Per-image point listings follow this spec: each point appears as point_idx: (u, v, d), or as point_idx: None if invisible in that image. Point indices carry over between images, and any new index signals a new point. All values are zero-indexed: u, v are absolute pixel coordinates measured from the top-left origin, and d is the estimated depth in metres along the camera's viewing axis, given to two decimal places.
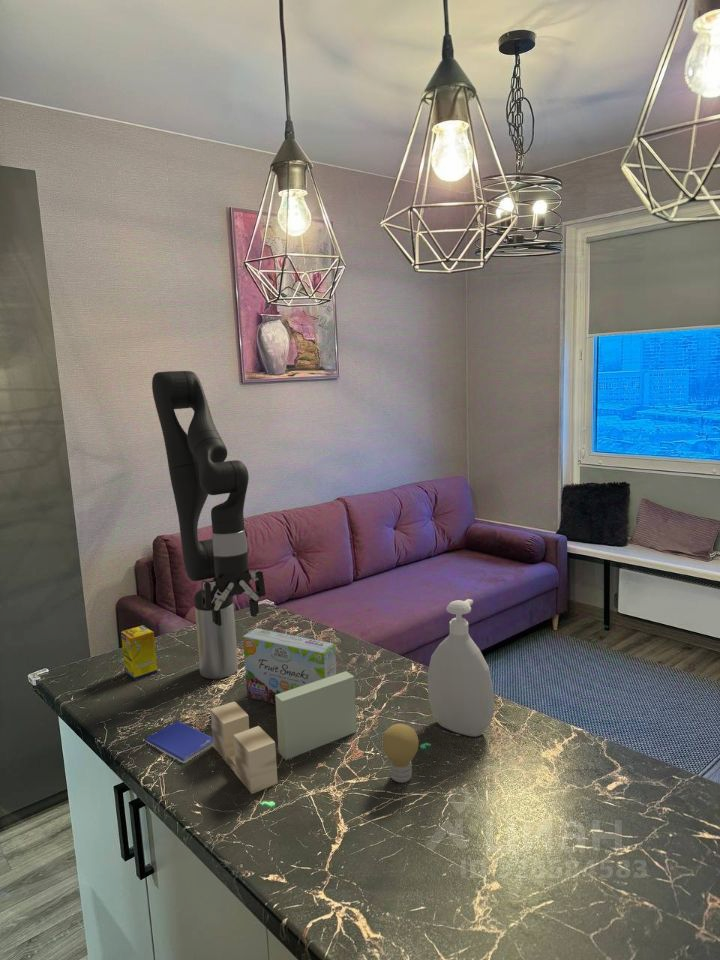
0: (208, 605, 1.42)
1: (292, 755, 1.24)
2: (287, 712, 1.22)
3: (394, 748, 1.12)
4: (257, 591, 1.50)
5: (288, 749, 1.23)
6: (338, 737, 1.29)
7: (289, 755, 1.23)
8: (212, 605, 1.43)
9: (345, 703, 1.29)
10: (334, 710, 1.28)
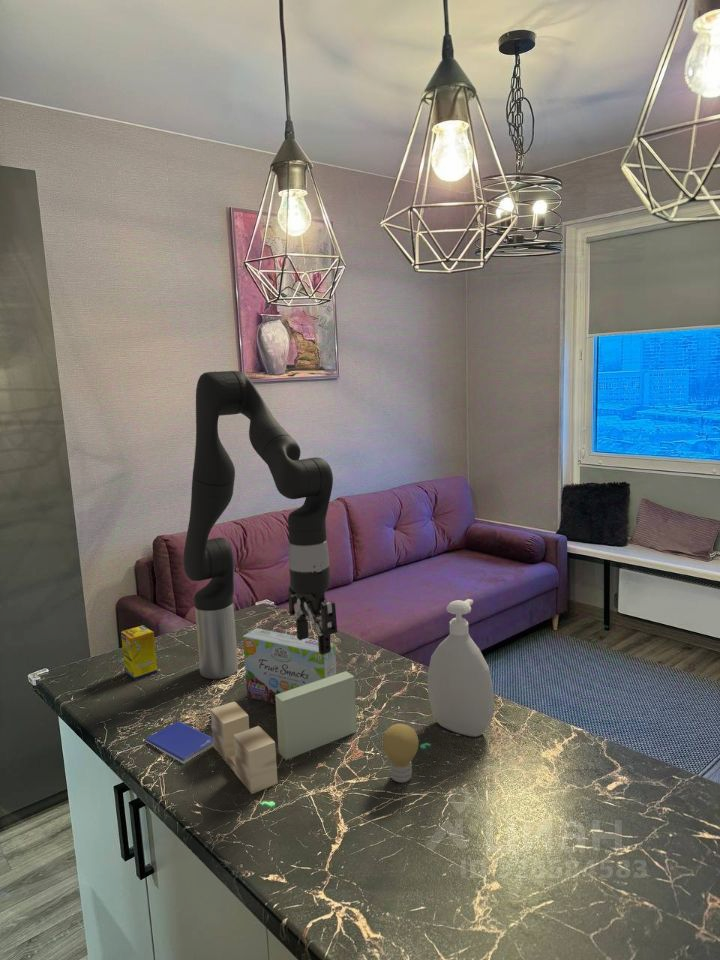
0: None
1: (292, 755, 1.24)
2: (287, 712, 1.22)
3: (394, 748, 1.12)
4: None
5: (288, 749, 1.23)
6: (338, 737, 1.29)
7: (289, 755, 1.23)
8: None
9: (345, 703, 1.29)
10: (334, 710, 1.28)
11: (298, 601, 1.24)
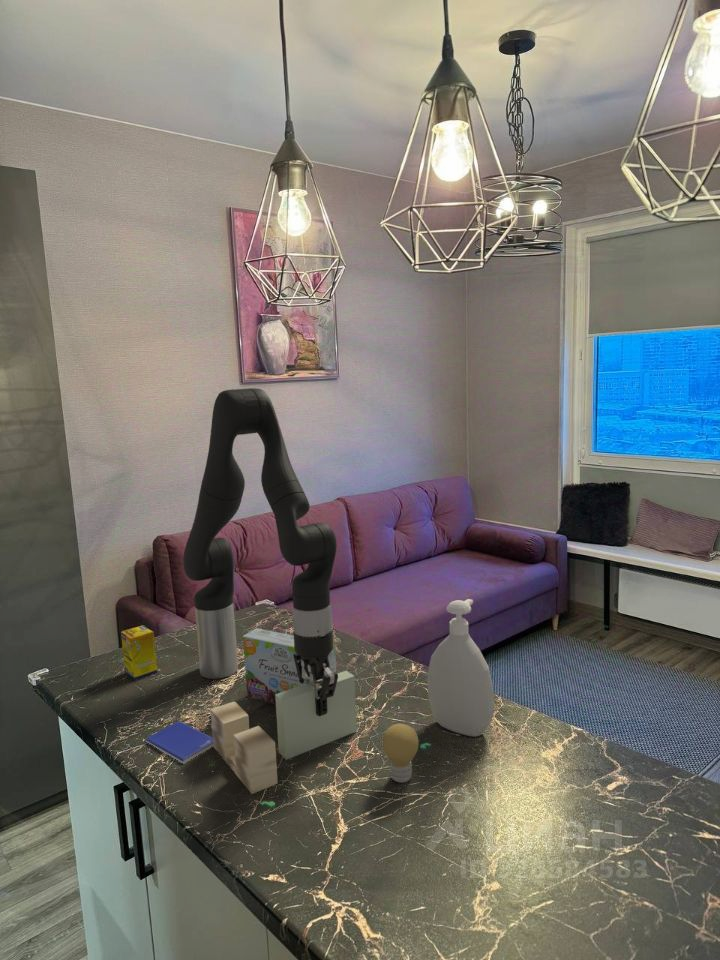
0: None
1: (292, 754, 1.24)
2: (287, 712, 1.22)
3: (394, 748, 1.12)
4: None
5: (288, 749, 1.23)
6: (338, 736, 1.29)
7: (289, 754, 1.23)
8: None
9: (345, 703, 1.29)
10: (334, 710, 1.28)
11: (302, 663, 1.26)
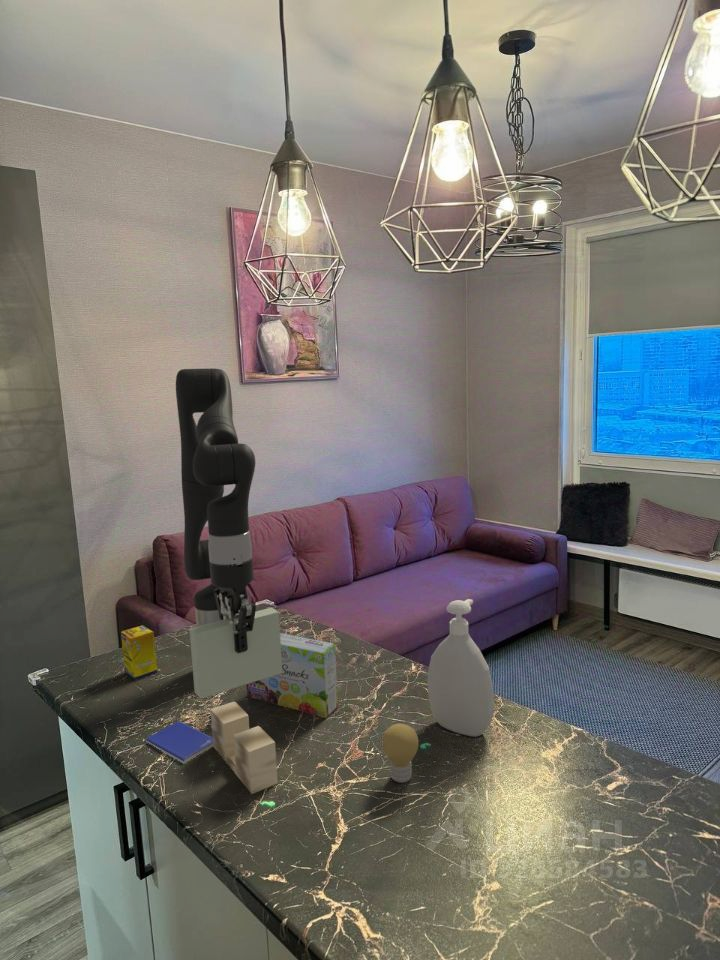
0: None
1: (208, 694, 1.15)
2: (201, 646, 1.13)
3: (394, 748, 1.12)
4: None
5: (203, 687, 1.14)
6: (261, 677, 1.20)
7: (204, 693, 1.14)
8: None
9: (269, 641, 1.20)
10: (256, 647, 1.19)
11: (220, 596, 1.17)
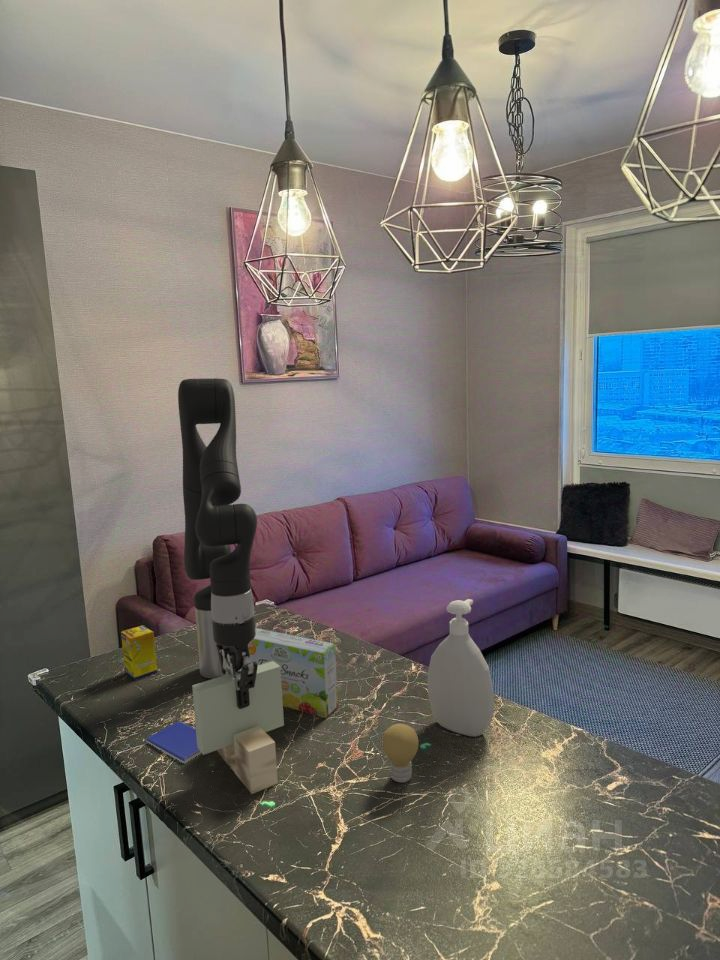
0: None
1: (210, 749, 1.16)
2: (204, 704, 1.14)
3: (394, 748, 1.12)
4: None
5: (206, 743, 1.16)
6: None
7: (207, 749, 1.16)
8: None
9: (271, 695, 1.22)
10: (258, 702, 1.20)
11: (222, 652, 1.18)
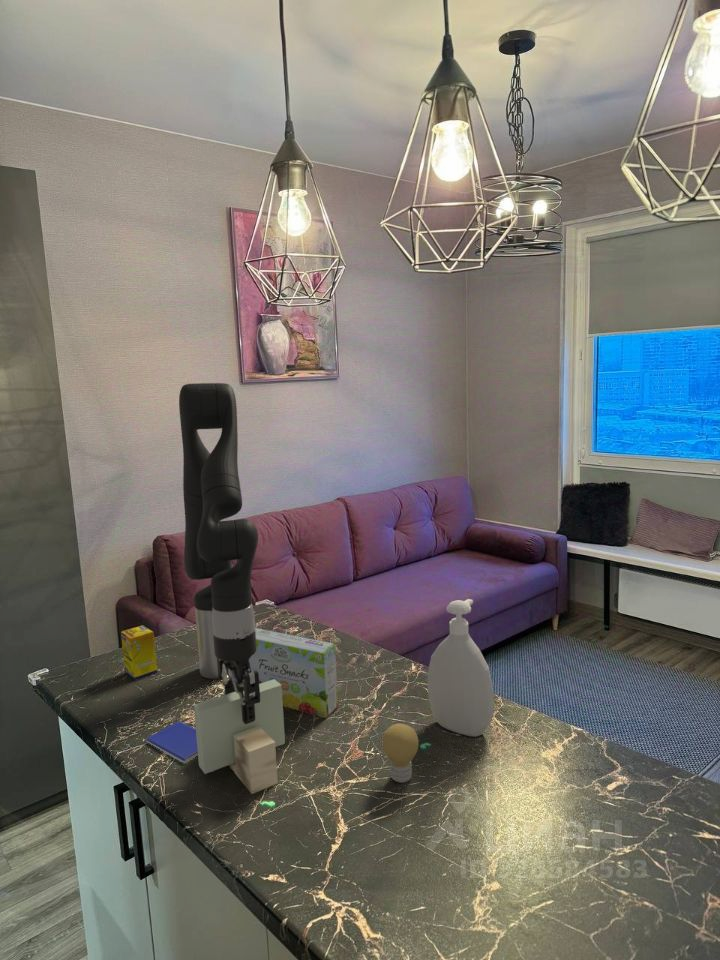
0: None
1: (212, 768, 1.17)
2: (205, 723, 1.15)
3: (394, 748, 1.12)
4: None
5: (207, 762, 1.16)
6: None
7: (208, 768, 1.17)
8: None
9: (272, 713, 1.22)
10: (259, 721, 1.21)
11: (223, 666, 1.19)
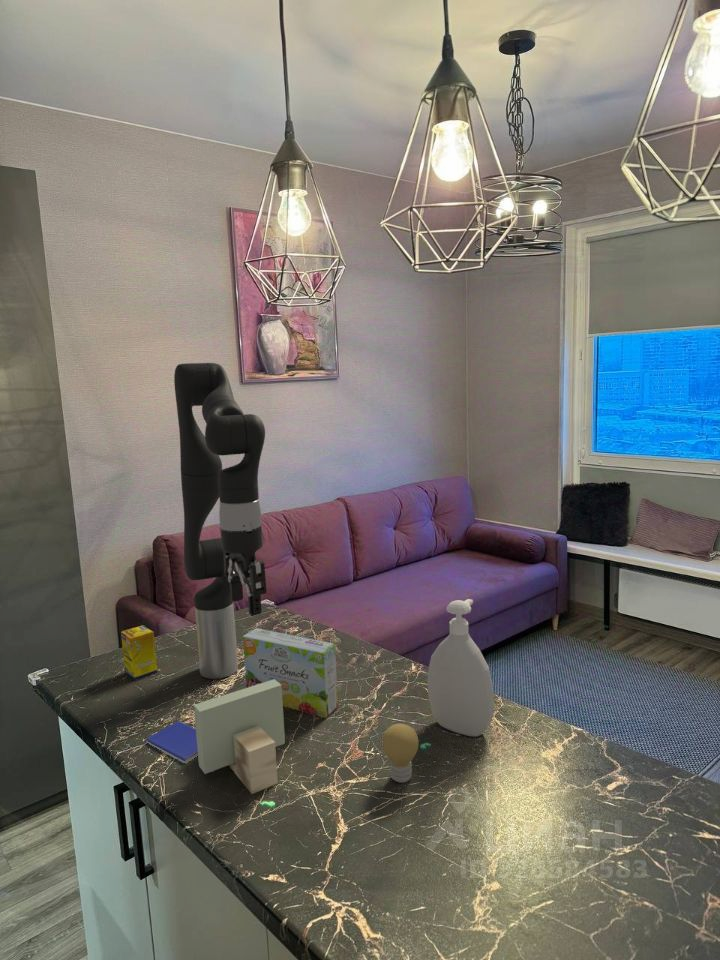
0: None
1: (212, 768, 1.17)
2: (205, 723, 1.15)
3: (394, 748, 1.12)
4: None
5: (207, 762, 1.16)
6: None
7: (208, 768, 1.17)
8: None
9: (272, 713, 1.22)
10: (259, 721, 1.21)
11: (230, 561, 1.21)
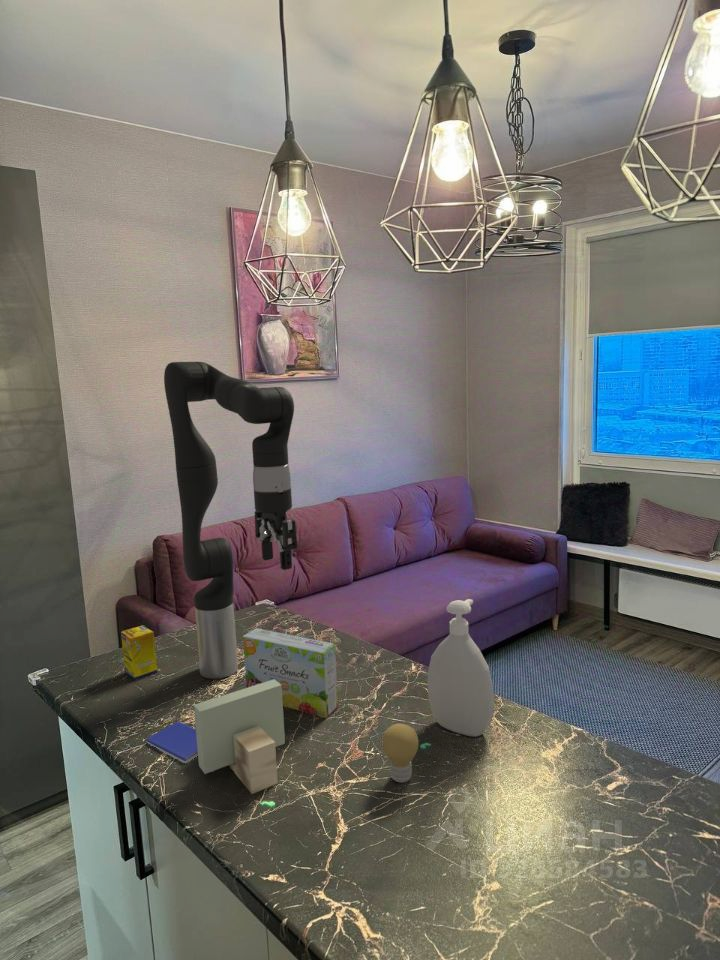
0: None
1: (212, 768, 1.17)
2: (205, 723, 1.15)
3: (394, 748, 1.12)
4: None
5: (207, 762, 1.16)
6: None
7: (208, 768, 1.17)
8: None
9: (272, 713, 1.22)
10: (259, 721, 1.21)
11: (262, 522, 1.33)
